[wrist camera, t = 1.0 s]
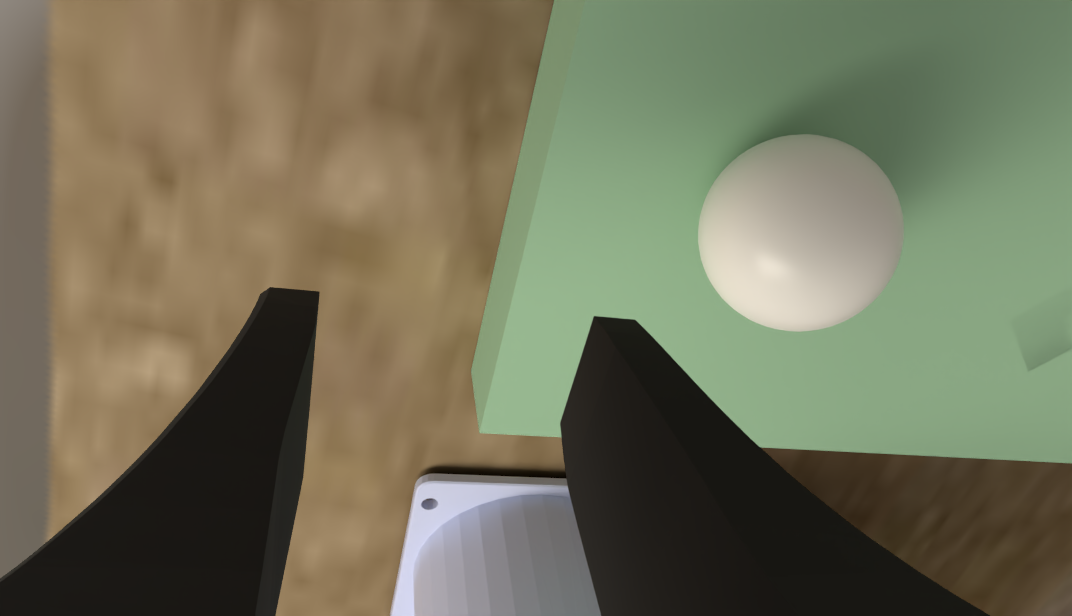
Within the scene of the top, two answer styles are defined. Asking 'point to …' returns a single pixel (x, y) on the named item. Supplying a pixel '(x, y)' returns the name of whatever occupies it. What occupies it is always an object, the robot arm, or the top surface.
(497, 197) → the top surface
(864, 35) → the putting mat
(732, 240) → the ball
